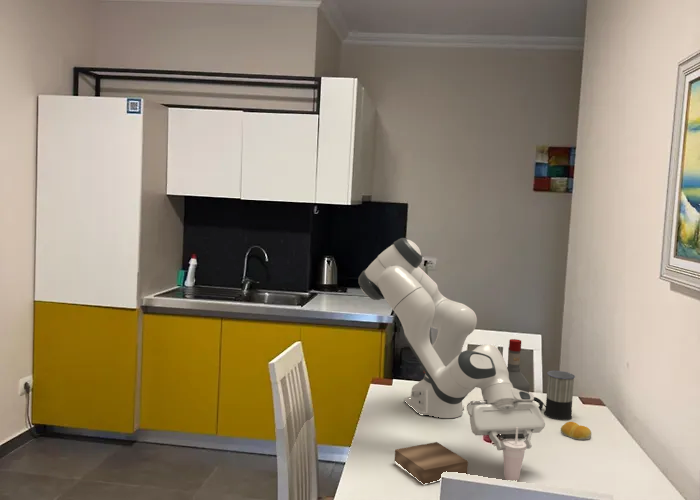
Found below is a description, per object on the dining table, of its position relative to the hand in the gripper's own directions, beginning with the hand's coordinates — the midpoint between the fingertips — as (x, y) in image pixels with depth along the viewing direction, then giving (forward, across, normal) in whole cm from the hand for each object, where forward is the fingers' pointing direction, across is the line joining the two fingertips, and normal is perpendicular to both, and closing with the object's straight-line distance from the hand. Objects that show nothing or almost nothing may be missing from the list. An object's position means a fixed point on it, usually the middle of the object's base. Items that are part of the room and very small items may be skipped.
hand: (514, 448), depth 164 cm
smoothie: (+6, 0, +6) cm, 9 cm away
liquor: (-16, +14, +28) cm, 35 cm away
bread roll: (-13, +36, +26) cm, 46 cm away
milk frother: (-28, +37, +40) cm, 61 cm away
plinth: (0, -20, +12) cm, 23 cm away
